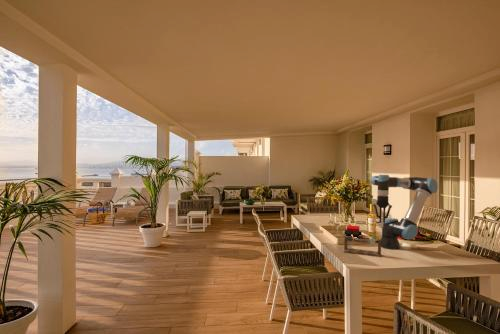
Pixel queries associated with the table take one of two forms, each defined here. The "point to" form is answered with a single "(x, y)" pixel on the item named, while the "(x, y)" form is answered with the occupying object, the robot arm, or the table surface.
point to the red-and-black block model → (353, 231)
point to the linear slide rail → (362, 252)
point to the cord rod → (358, 239)
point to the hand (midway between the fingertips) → (381, 227)
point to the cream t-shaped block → (372, 239)
